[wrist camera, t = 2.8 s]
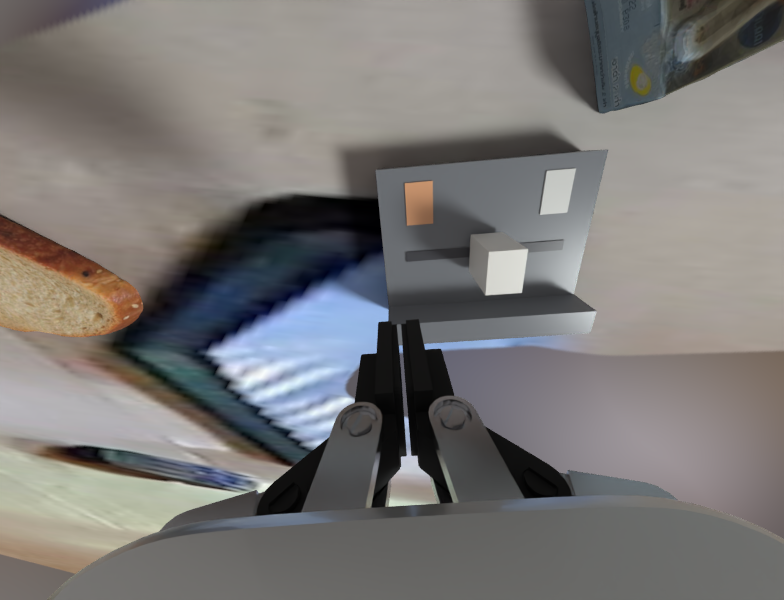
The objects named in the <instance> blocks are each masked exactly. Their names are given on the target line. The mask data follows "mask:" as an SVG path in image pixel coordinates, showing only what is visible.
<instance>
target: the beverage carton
mask: <svg viewBox="0 0 784 600" xmlns="http://www.w3.org/2000/svg"><path fill="white" fill-rule="evenodd" d="M584 2H585V7H586V13H587V20H588V26H589V33H590V41H591V50H592V59H593V66H594V76H595V84H596V95H597V102H598V108H599V112H600V113H607V112H609V111H616V110H620V109H624V108H628V107H631V106H635V105H641V104H644V103H648V102H651V101H654V100H658V99H660V98H663V97H665V96H666V95H668V94H670V93H672V92H674V91H676V90H678V89H681V88H683V87H685V86H687V85H689V84H692V83H695V82H697V81H700V80H703V79H705V78H707V77H709V76H711V75H712V74H714V73H716V72H718V71H720V70H722V69H724V68H727V67H729V66H731V65H733V64H735V63H737V62H739V61H742V60H744V59H746V58H748V57H750V56H752V55H754V54H756V53H758V52H760V51H762V50H764V49H766V48H768V47H770V46H772V45H774V44H776V43H778V42H781V41H783V40H784V0H584Z"/></svg>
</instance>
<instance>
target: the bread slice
mask: <svg viewBox="0 0 784 600" xmlns="http://www.w3.org/2000/svg"><path fill="white" fill-rule="evenodd" d="M142 310H143V303H142V300H141V298H140V295H139V293H138V291H137V290H136V289H135V288H134V287H133V286H132V285H130V284H129V283H128V282H126V281H124V280H122V279H121V278H119V277H118V276H116V275H115V274H113V273H112V272H110V271H108V270H107V269H105V268H103V267H102V266H100V265H99V264H97V263H96V262H94V261H92V260H89V259H87V258H85V257H84V256H82V255H80V254H78V253H77V252H75V251H73V250H70V249H68V248H65V247H63V246H61V245H59V244H57V243H56V242H54V241H52V240H50V239H47V238H45V237H43V236H41V235H39V234H37V233H35V232H33V231H31V230H29V229H27V228H25V227H23V226H21V225H19V224H16V223H14V222H12V221H9V220H7V219H5V218H3V217H1V216H0V326H2V327H6V328H10V329H12V330H18V331H24V332H29V331H41V332H46V333H53V334H57V335H61V336H69V337H88V336H96V335H104V334H109V333H112V332H114V331H117V330H120V329H122V328H124V327H126V326H128V325H130V324H131V323H133V322H134V321H135V320H136V319H137V318H138V317H139V315H140V313H141V312H142Z"/></svg>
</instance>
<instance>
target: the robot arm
mask: <svg viewBox="0 0 784 600" xmlns="http://www.w3.org/2000/svg"><path fill="white" fill-rule="evenodd" d="M401 331H402V344H403V357H404V369H405V382H406V393H407V406H408V419H409V431H410V443H411V455H412V456H417V455H418V464H419V466H420V468H421V469H422V470H423V471H425V472H426V473H427V474H428V475H429V476H430V477H431V484H432V487H433V491H434V494H435V498H436V501H437V504H427V505H410V506H395V507H388V505H389V498H390V490H391V478H392V477H393V476H394V475H395V474H396V472H397V471H398V470H399V469H400V467H401V456H406V440H405V425H404V410H403V396H402V395H403V394H402V379H401V367H400V355H399V344H398V332H397V324H393V325H392V321H387V322H379V323H378V340H377V353H376V354H363V355H361V360H360V368H359V375H358V383H357V390H356V397H355V403H354V404H350V405H349V406H347V407H345V408H344V409H343V410H342V411H341V412H340V413H339V415H338V416H337V418H336V421H335V423H334V426H333V429H332V431H331V434H330V437H329V438H328V439H327V440H325V441H324V442H323V443H322V444H320V445H319V446H318V447H317V448H315V449H314V450H313V451H312V452H311V453H309V454H308V455H307V456H306V457H304V458H303V459H302V460H301V461H300V462H298V463H297V464H296V465H295V466H293V467H292V468H291V469H290V470H288V471H287V472H286V473H285V474H284V475H282V476H281V477H280V478H279V479H277V480H276V481H275V482H274V483H273V484H272V485H271V486H270V487H269V488H268V489H267V490H266V491H265V492H262V493H258V491H257V490H255V491H252V492H249V493H245V494H242V495H239V496H235V497H232V498H229V499H225V500H222V501H219V502H215V503H212V504H209V505H205V506H202V507H199V508H195V509H192V510H189V511H186V512H184V513H182V514H179V515H177V516H176V517H174V518H173V519H172V520H171V521H169V522H168V523H167V524H166V525H165V526H164V527H163V528H162V529H161V530H160V531H159V532H157V533H154V534H151V535H148V536H146V537H143V538H140V539H138V540H136V541H134V542H131V543H129V544H127V545H125V546H123V547H120V548H118V549H116V550H114V551H112V552H110V553H108V554H107V555H105V556H103V557H101V558H99V559H98V560H96V561H94V562H93V563H91V564H90V565H88V566H86V567H85V568H83V569H82V570H81V571H79V572H78V573H77V574H75V575H74V576H73V577H71V578H70V579H69V580H67V581H66V582H65V583H64V584H63V585H62V586H61V587H60V588H59V589H57V591H55V592H54V593H53V594H52V595H51V596H50V597H49V598H48V599H47V600H784V539H782V538H781V537H779V536H777V535H775V534H773V533H771V532H769V531H767V530H765V529H763V528H762V527H759V526H757V525H755V524H752V523H750V522H748V521H745V520H743V519H740V518H738V517H735V516H732V515H730V514H727V513H724V512H720V511H717V510H713V509H710V508H707V507H703V506H700V505H696V504H692V503H688V502H683V501H678V500H677V499H676V498H675V497H674V496H672V495H671V494H670V493H668V492H667V491H664V490H663V489H661V488H659V487H658V486H655V485H652V484H648V483H645V482H640V481H634V480H627V479H621V478H614V477H608V476H602V475H596V474H589V473H583V472H577V471H570V470H568V471H567V474H564V473H559V472H558V471H557V470H555V469H554V468H553V467H551V466H550V465H549V464H547V463H545V462H543V461H542V460H540V459H539V458H537V457H535V456H534V455H532V454H530V453H528V452H527V451H525V450H524V449H522V448H520V447H519V446H517V445H515V444H514V443H512V442H510V441H508V440H507V439H505V438H503V437H502V436H500V435H498V434H497V433H495V432H493V431H492V430H490V429H488V428H487V427H485V426H484V424H483V423H482V420H481V419H480V417H479V415H478V413H477V411H476V410H475V408H474V407H473V406H472V404H471V403H469V402H468V401H466V400H465V399H462V398H460V397H457V396H454V393H453V389H452V385H451V382H450V378H449V375H448V371H447V368H446V364H445V361H444V358H443V354H442V351H441V349H430V350H425V348H424V343H423V338H422V333H421V328H420V323H419V319H413V320H406V324H401Z"/></svg>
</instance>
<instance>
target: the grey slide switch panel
mask: <svg viewBox="0 0 784 600" xmlns="http://www.w3.org/2000/svg"><path fill="white" fill-rule="evenodd" d="M607 153H608V150H589V151H574V152H563V153H552V154H541V155H530V156H519V157H508V158H496V159H485V160H474V161H463V162H452V163H441V164H429V165H418V166H407V167H396V168H385V169H377V170H375V171H376V181H377V191H378V201H379V211H380V222H381V232H382V242H383V252H384V263H385V273H386V283H387V293H388V304H389V320H388V321H392V325H393V324H397V332H398V344H399V345H403V344H402V331H401V324H406V320H413V319H419V323H420V328H421V333H422V338H423V343H424V344H427V343H443V342H458V341H474V340H489V339H505V338H520V337H536V336H551V335H567V334H582V333H590V332H591V328H592V325H593V322H594V318H595V315H596V310H594V309H593V308H592V307H590V306H589V305H587V304H586V303H585V302H583V301H582V300H581V299H579V298H578V297H577V296H575V295H574V290H575V286H576V282H577V278H578V274H579V270H580V265H581V261H582V257H583V253H584V249H585V245H586V240H587V236H588V232H589V228H590V224H591V220H592V215H593V211H594V207H595V203H596V199H597V195H598V190H599V186H600V182H601V178H602V174H603V170H604V165H605V161H606V157H607ZM497 232H503V233H505V234H506V235H508V236H509V237H511V238H512V239H514V240H515V241H517V242H518V243H520V244H521V245H523V246H524V247H526V248H527V249H528V254H527V261H526V268H525V275H524V282H523V289H522V293H513V294H499V295H485V294H484V293H483V291H482V290H481V288H480V287H479V285H478V284H477V282H476V281H475V280H474V278H473V277H472V275H471V274H470V272H469V258H470V237H471V235H472V234H484V233H497Z"/></svg>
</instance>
